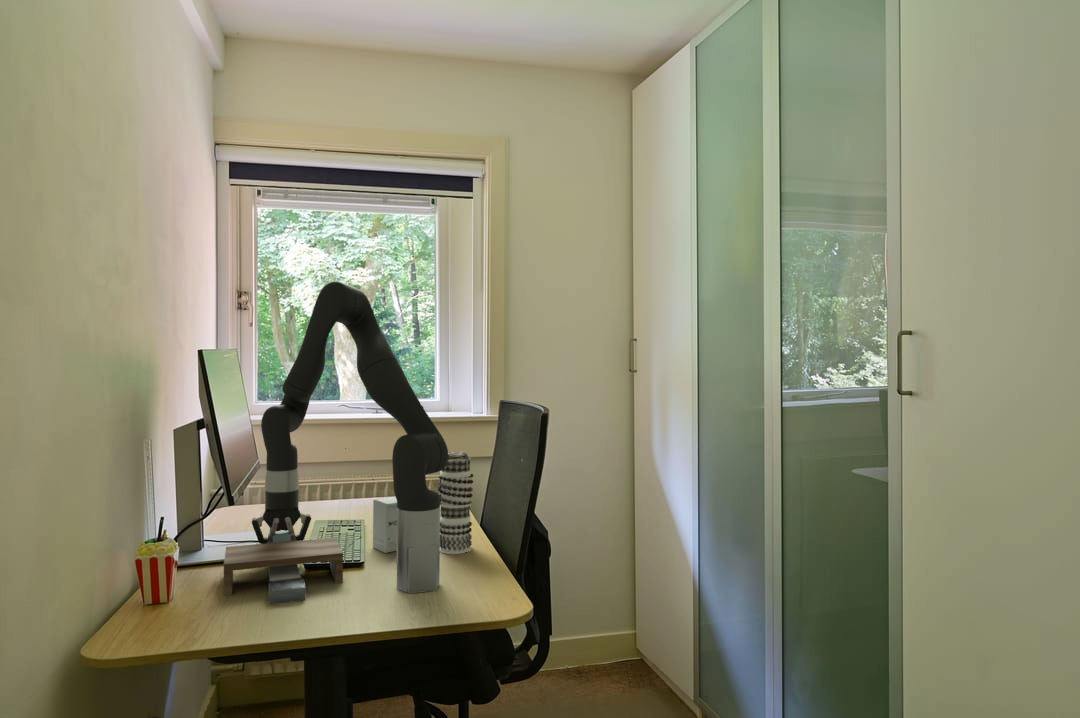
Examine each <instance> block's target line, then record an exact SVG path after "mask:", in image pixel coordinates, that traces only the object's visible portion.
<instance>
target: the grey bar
mask: <svg viewBox="0 0 1080 718" xmlns="http://www.w3.org/2000/svg"><path fill="white" fill-rule="evenodd" d="M290 541H291V534H290V535H289V532H288V531H284V530H281V531H276V533H275V536H273V543H278V542H290ZM267 568H268V579H269V580H268V581H273V580H283V579H292V578H301V575H300V570H299V564H295V565H285V566H275V567H267Z"/></svg>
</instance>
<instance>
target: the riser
mask: <svg viewBox="0 0 1080 718" xmlns="http://www.w3.org/2000/svg"><path fill="white" fill-rule="evenodd" d="M329 561H330V566H329V568H330V571H331V575H332V577H333V579H334V582H335V584H342V583H344V582H343V581H344V579H343V578H344V577H343V576H344V552H343V551H342V550H341V547H340V545H339V543H338V541H337V538H332V537H326V538H316V539H304V540H302V541H290V542H278V543H267V544H260V543H256V544H247V545H246V544H245V545H233V546H226V547H225V552H224V560H223V596H229V595H233V581H234V580H233V579H234V571H240V570H241V571H242V570H244V571H245V570H252V569H253V570H254V569H263V568H268V567H275V566H285V565H295V564H297V565H303V564H304V565H306V564H313V563H314V564H315V563H325V562H329Z"/></svg>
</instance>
